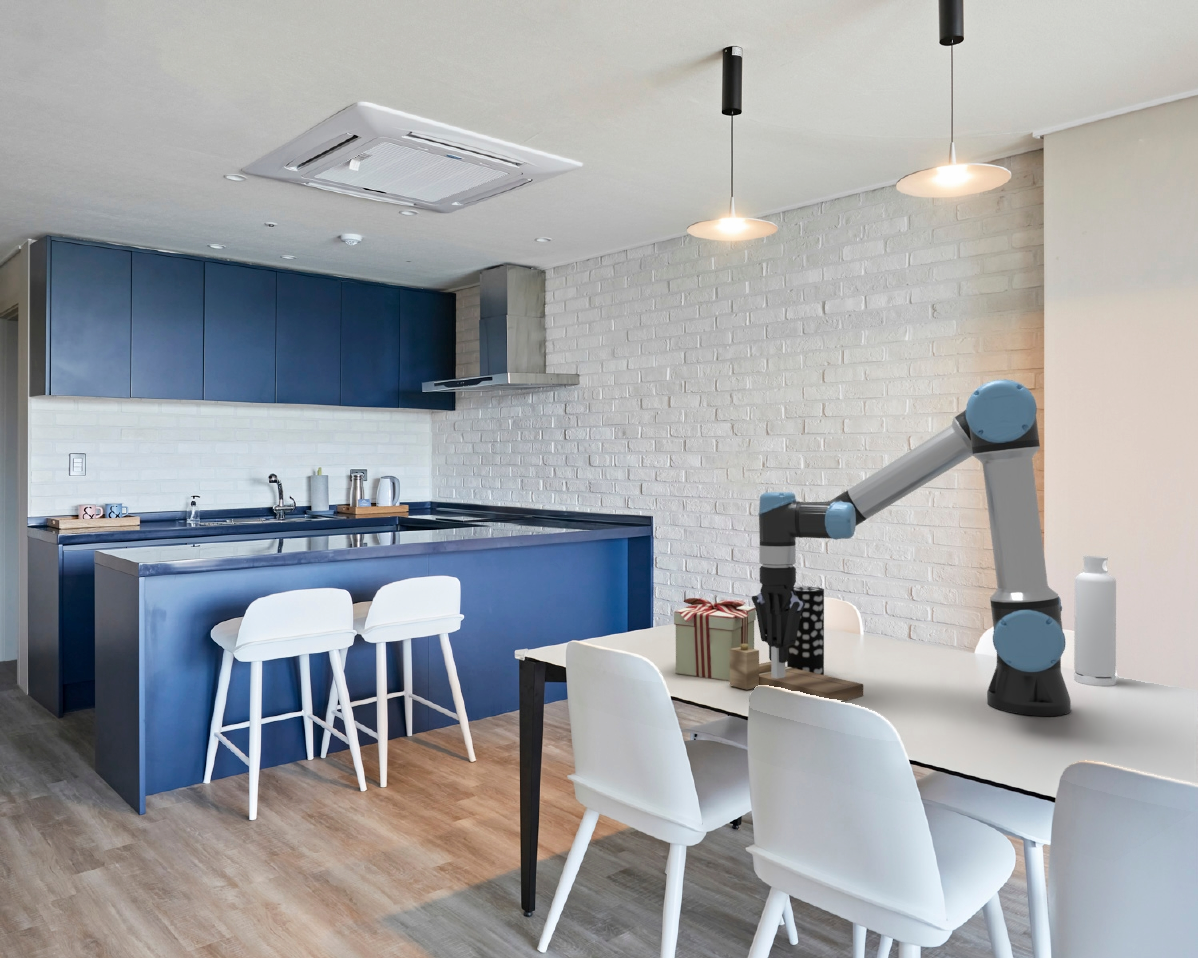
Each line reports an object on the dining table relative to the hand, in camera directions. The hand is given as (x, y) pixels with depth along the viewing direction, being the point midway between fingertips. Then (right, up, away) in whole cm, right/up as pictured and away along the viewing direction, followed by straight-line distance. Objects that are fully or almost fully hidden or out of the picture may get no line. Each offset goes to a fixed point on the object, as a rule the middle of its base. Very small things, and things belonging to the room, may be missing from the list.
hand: (778, 676), depth 187 cm
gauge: (-2, -4, +10) cm, 11 cm away
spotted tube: (+10, -4, +19) cm, 22 cm away
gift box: (-10, -4, +21) cm, 24 cm away
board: (+5, -4, +6) cm, 9 cm away
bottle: (+73, -4, +12) cm, 74 cm away
